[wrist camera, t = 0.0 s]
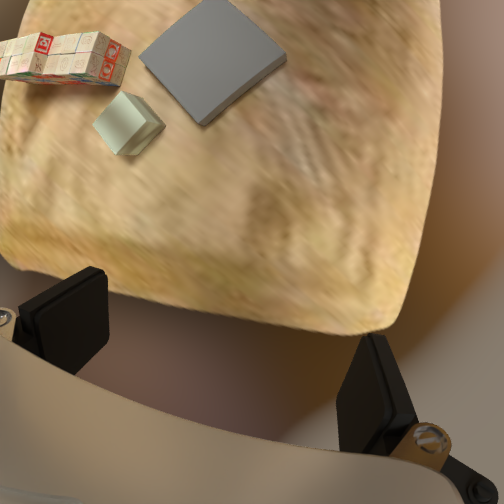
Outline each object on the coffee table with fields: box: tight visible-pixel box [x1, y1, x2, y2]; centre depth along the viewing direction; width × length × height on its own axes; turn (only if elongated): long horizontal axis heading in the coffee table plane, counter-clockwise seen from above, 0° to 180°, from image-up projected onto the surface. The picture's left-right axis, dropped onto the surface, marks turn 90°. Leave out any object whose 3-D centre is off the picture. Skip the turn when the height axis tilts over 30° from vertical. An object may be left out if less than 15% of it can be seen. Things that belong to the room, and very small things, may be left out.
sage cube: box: [92, 91, 166, 155], centre depth 37 cm, size 6×6×6 cm
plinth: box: [138, 0, 287, 126], centre depth 34 cm, size 14×14×3 cm
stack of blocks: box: [0, 31, 131, 86], centre depth 32 cm, size 21×6×12 cm, turn 75°
